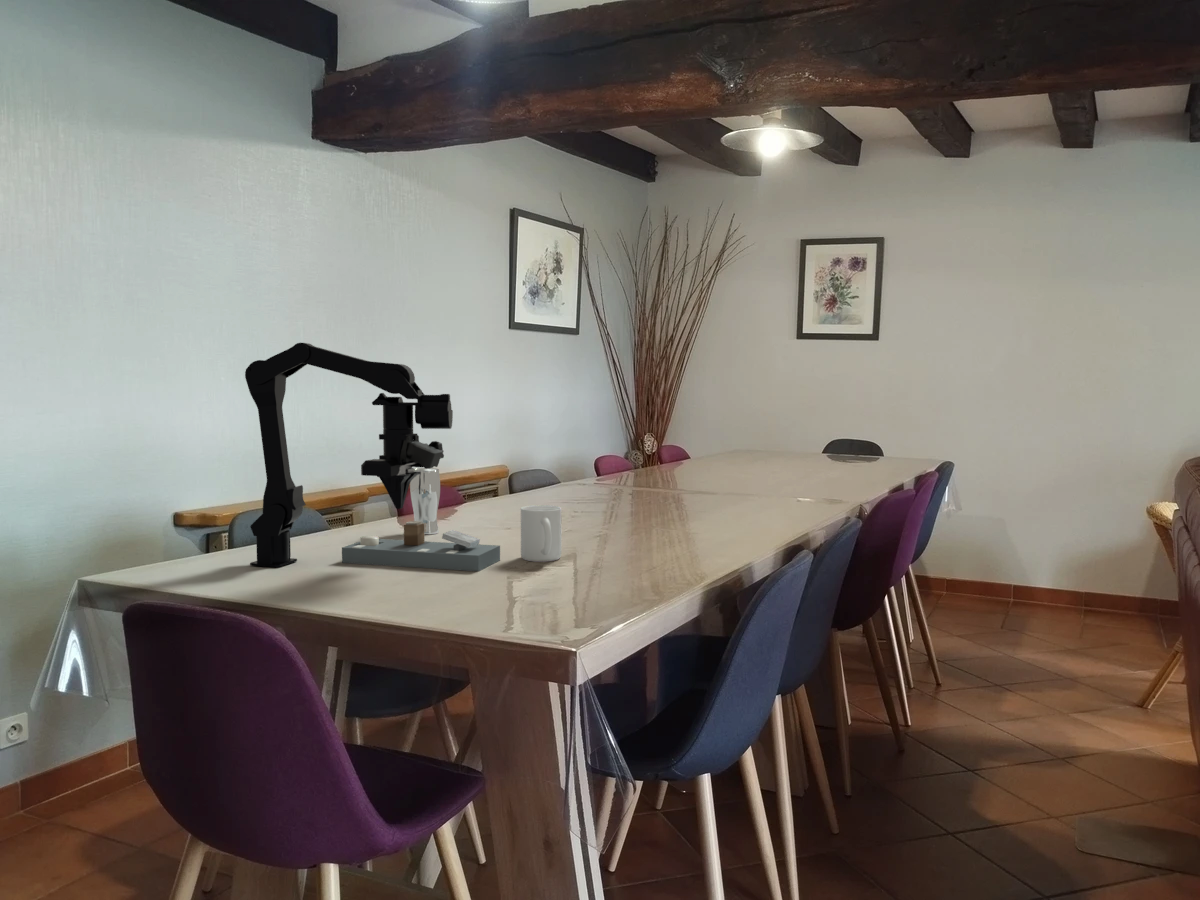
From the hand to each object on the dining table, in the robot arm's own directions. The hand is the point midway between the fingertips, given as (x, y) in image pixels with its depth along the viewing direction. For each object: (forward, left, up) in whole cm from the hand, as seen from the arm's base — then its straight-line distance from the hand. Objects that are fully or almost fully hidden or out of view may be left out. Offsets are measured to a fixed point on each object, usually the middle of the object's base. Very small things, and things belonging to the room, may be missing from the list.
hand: (399, 508), depth 180 cm
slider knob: (+5, -1, -8) cm, 9 cm away
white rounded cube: (+3, +8, -10) cm, 14 cm away
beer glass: (+35, +11, -11) cm, 38 cm away
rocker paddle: (+3, -12, -6) cm, 13 cm away
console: (+3, -3, -11) cm, 12 cm away
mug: (+12, -26, -11) cm, 30 cm away
